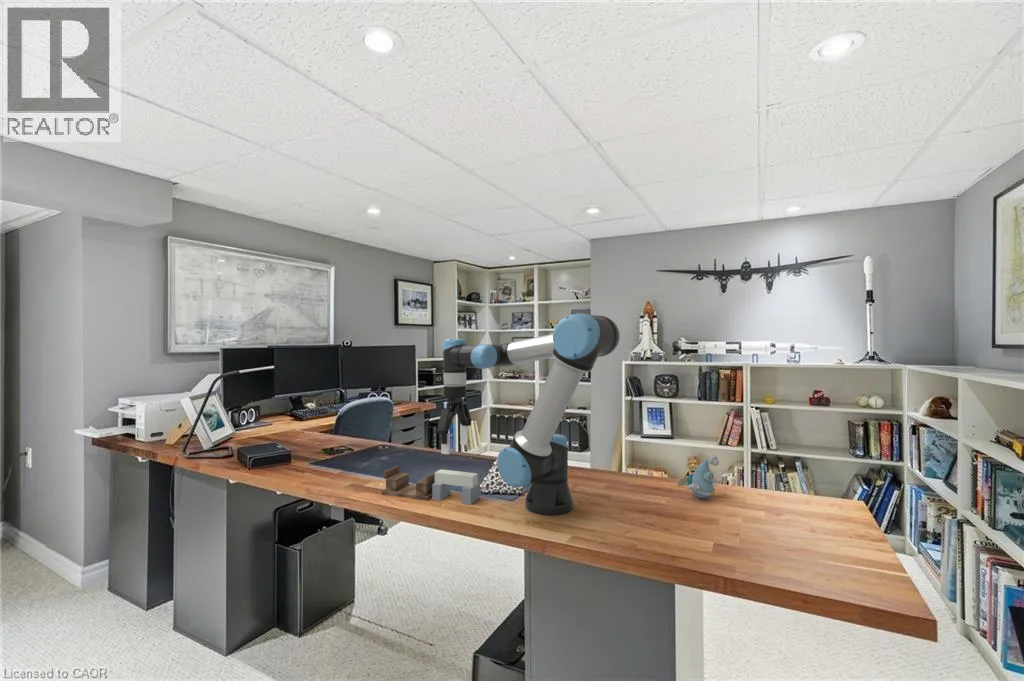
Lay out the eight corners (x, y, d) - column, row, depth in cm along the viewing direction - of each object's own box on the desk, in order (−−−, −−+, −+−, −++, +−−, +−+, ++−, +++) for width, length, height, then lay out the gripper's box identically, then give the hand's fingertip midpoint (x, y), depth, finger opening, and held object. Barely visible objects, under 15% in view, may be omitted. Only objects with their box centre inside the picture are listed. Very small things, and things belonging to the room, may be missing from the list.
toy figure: (705, 508, 147) (705, 460, 147) (675, 499, 155) (675, 454, 155) (730, 496, 158) (730, 452, 158) (701, 488, 166) (701, 446, 166)
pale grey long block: (477, 484, 155) (477, 473, 155) (472, 487, 151) (472, 476, 151) (440, 479, 160) (440, 469, 160) (434, 482, 156) (434, 472, 156)
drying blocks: (479, 497, 156) (479, 482, 156) (470, 504, 150) (470, 489, 150) (442, 492, 161) (442, 478, 161) (432, 499, 155) (432, 484, 155)
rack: (442, 491, 163) (442, 469, 163) (427, 500, 154) (427, 477, 154) (398, 485, 169) (398, 464, 169) (381, 493, 160) (381, 472, 160)
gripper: (461, 381, 168) (461, 440, 168) (425, 388, 145) (426, 457, 145) (480, 382, 166) (480, 442, 166) (447, 389, 142) (447, 458, 142)
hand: (455, 449), depth 155 cm, fingers open, 13 cm apart
